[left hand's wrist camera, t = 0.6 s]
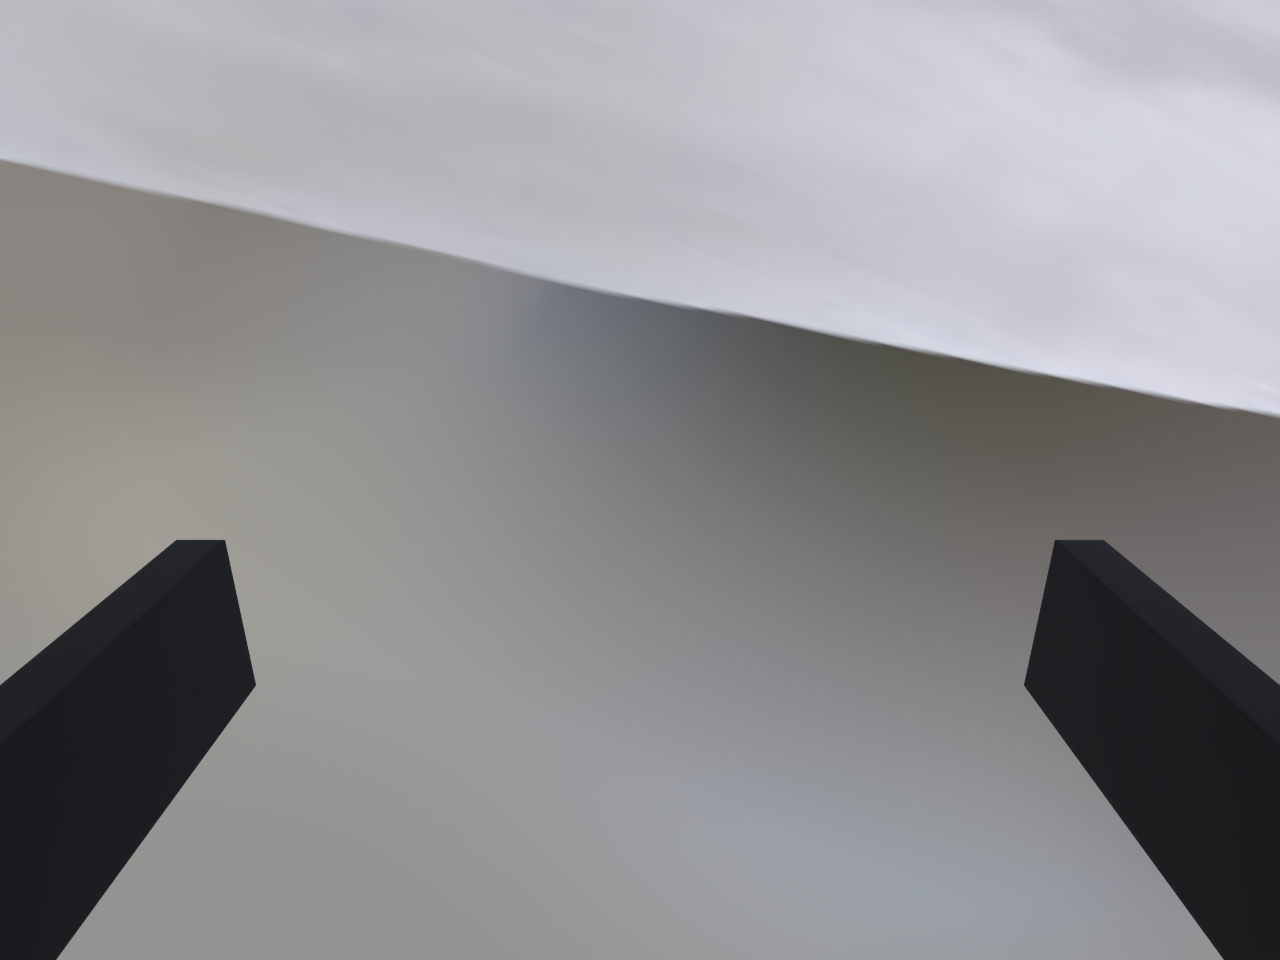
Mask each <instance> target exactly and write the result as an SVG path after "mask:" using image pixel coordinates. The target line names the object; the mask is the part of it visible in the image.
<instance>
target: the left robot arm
mask: <svg viewBox="0 0 1280 960" xmlns="http://www.w3.org/2000/svg"><path fill="white" fill-rule="evenodd" d="M255 686H256V683H255V679H254V674H253V669H252V665H251V660H250V655H249V650H248V646H247V641H246V636H245V632H244V627H243V622H242V618H241V613H240V608H239V604H238V599H237V594H236V590H235V585H234V580H233V576H232V571H231V566H230V561H229V557H228V552H227V547H226V543H225V540H176V541H175V542H173V543H172V544H171V545H170V546H169V547H167V548H166V549H165V550H164V551H163V552H161V553H160V554H159V555H158V556H157V557H155V558H154V559H153V560H152V561H150V562H149V563H148V564H147V565H146V566H144V567H143V568H142V569H141V570H139V571H138V572H137V573H136V574H135V575H133V576H132V577H131V578H130V579H129V580H127V581H126V582H125V583H124V584H122V585H121V586H120V587H119V588H118V589H116V590H115V591H114V592H113V593H112V594H110V595H109V596H108V597H107V598H106V599H104V600H103V601H102V602H101V603H99V604H98V605H97V606H96V607H95V608H93V609H92V610H91V611H90V612H89V613H87V614H86V615H85V616H84V617H82V618H81V619H80V620H79V621H78V622H76V623H75V624H74V625H73V626H72V627H70V628H69V629H68V630H67V631H66V632H64V633H63V634H62V635H61V636H59V637H58V638H57V639H56V640H55V641H53V642H52V643H51V644H50V645H48V646H47V647H46V648H45V649H44V650H42V651H41V652H40V653H39V654H38V655H36V656H35V657H34V658H33V659H31V660H30V661H29V662H28V663H27V664H25V665H24V666H23V667H22V668H21V669H19V670H18V671H17V672H16V673H15V674H13V675H12V676H11V677H10V678H8V679H7V680H6V681H5V682H4V683H2V684H1V685H0V960H56V959H57V958H58V956H59V955H60V954H61V952H62V951H63V950H64V948H65V947H66V945H67V944H68V943H69V941H70V940H71V939H72V937H73V936H74V934H75V933H76V932H77V930H78V929H79V927H80V926H81V925H82V923H83V922H84V921H85V919H86V918H87V917H88V915H89V914H90V912H91V911H92V910H93V908H94V907H95V905H96V904H97V903H98V901H99V900H100V899H101V897H102V896H103V895H104V893H105V892H106V890H107V889H108V888H109V886H110V885H111V884H112V882H113V881H114V879H115V878H116V877H117V875H118V874H119V872H120V871H121V870H122V868H123V867H124V866H125V864H126V863H127V862H128V860H129V859H130V857H131V856H132V855H133V853H134V852H135V851H136V849H137V848H138V847H139V845H140V844H141V842H142V841H143V840H144V838H145V837H146V836H147V834H148V833H149V831H150V830H151V829H152V827H153V826H154V824H155V823H156V822H157V820H158V819H159V818H160V816H161V815H162V814H163V812H164V811H165V809H166V808H167V807H168V805H169V804H170V803H171V801H172V800H173V798H174V797H175V796H176V794H177V793H178V792H179V790H180V789H181V787H182V786H183V785H184V783H185V782H186V781H187V779H188V778H189V777H190V775H191V774H192V772H193V771H194V770H195V768H196V767H197V766H198V764H199V763H200V761H201V760H202V759H203V757H204V756H205V754H206V753H207V752H208V750H209V749H210V748H211V746H212V745H213V744H214V742H215V741H216V739H217V738H218V737H219V735H220V734H221V733H222V731H223V730H224V728H225V727H226V726H227V724H228V723H229V722H230V720H231V719H232V717H233V716H234V715H235V713H236V712H237V711H238V709H239V708H240V706H241V705H242V704H243V702H244V701H245V700H246V698H247V697H248V695H249V694H250V693H251V691H252V690H253V689H254V687H255ZM1024 686H1025V687H1026V689H1027V690H1028V691H1029V693H1030V694H1031V696H1032V697H1033V698H1034V700H1035V701H1036V702H1037V704H1038V705H1039V706H1040V708H1041V709H1042V711H1043V712H1044V713H1045V715H1046V716H1047V717H1048V719H1049V720H1050V722H1051V723H1052V724H1053V726H1054V727H1055V728H1056V730H1057V731H1058V733H1059V734H1060V735H1061V737H1062V738H1063V739H1064V741H1065V742H1066V744H1067V745H1068V746H1069V747H1070V749H1071V750H1072V752H1073V753H1074V754H1075V756H1076V757H1077V759H1078V760H1079V761H1080V763H1081V764H1082V765H1083V767H1084V768H1085V770H1086V771H1087V772H1088V774H1089V775H1090V777H1091V778H1092V779H1093V781H1094V782H1095V783H1096V785H1097V786H1098V787H1099V789H1100V790H1101V792H1102V793H1103V794H1104V796H1105V797H1106V798H1107V800H1108V801H1109V803H1110V804H1111V805H1112V807H1113V808H1114V809H1115V811H1116V812H1117V813H1118V815H1119V816H1120V818H1121V819H1122V820H1123V822H1124V823H1125V825H1126V826H1127V827H1128V829H1129V830H1130V831H1131V833H1132V834H1133V836H1134V837H1135V838H1136V840H1137V841H1138V842H1139V844H1140V845H1141V847H1142V848H1143V849H1144V851H1145V852H1146V853H1147V855H1148V856H1149V858H1150V859H1151V860H1152V862H1153V863H1154V864H1155V866H1156V867H1157V869H1158V870H1159V871H1160V873H1161V874H1162V875H1163V877H1164V878H1165V879H1166V881H1167V882H1168V884H1169V885H1170V886H1171V888H1172V889H1173V890H1174V892H1175V893H1176V895H1177V896H1178V897H1179V899H1180V900H1181V901H1182V903H1183V904H1184V906H1185V907H1186V908H1187V910H1188V911H1189V912H1190V914H1191V915H1192V917H1193V918H1194V919H1195V921H1196V922H1197V923H1198V925H1199V926H1200V928H1201V929H1202V930H1203V932H1204V933H1205V934H1206V936H1207V937H1208V938H1209V940H1210V941H1211V943H1212V944H1213V945H1214V947H1215V948H1216V950H1217V951H1218V952H1219V954H1220V955H1221V956H1222V958H1223V959H1224V960H1280V685H1279V684H1278V683H1276V682H1275V681H1274V680H1273V679H1272V678H1270V677H1269V676H1268V675H1267V674H1265V673H1264V672H1263V671H1262V670H1261V669H1259V668H1258V667H1257V666H1256V665H1255V664H1253V663H1252V662H1251V661H1250V660H1249V659H1247V658H1246V657H1245V656H1244V655H1242V654H1241V653H1240V652H1239V651H1238V650H1236V649H1235V648H1234V647H1233V646H1232V645H1230V644H1229V643H1228V642H1227V641H1225V640H1224V639H1223V638H1222V637H1221V636H1219V635H1218V634H1217V633H1216V632H1215V631H1213V630H1212V629H1211V628H1210V627H1208V626H1207V625H1206V624H1205V623H1204V622H1202V621H1201V620H1200V619H1199V618H1197V617H1196V616H1195V615H1194V614H1193V613H1191V612H1190V611H1189V610H1188V609H1187V608H1185V607H1184V606H1183V605H1182V604H1181V603H1179V602H1178V601H1177V600H1176V599H1174V598H1173V597H1172V596H1171V595H1170V594H1168V593H1167V592H1166V591H1165V590H1164V589H1162V588H1161V587H1160V586H1159V585H1157V584H1156V583H1155V582H1154V581H1153V580H1151V579H1150V578H1149V577H1148V576H1147V575H1145V574H1144V573H1143V572H1142V571H1141V570H1139V569H1138V568H1137V567H1136V566H1134V565H1133V564H1132V563H1131V562H1130V561H1128V560H1127V559H1126V558H1125V557H1124V556H1122V555H1121V554H1120V553H1119V552H1117V551H1116V550H1115V549H1114V548H1113V547H1111V546H1110V545H1109V544H1108V543H1107V542H1105V541H1104V540H1055V543H1054V548H1053V552H1052V557H1051V562H1050V566H1049V571H1048V576H1047V580H1046V585H1045V590H1044V594H1043V599H1042V604H1041V608H1040V613H1039V618H1038V622H1037V627H1036V632H1035V637H1034V641H1033V646H1032V650H1031V655H1030V660H1029V664H1028V669H1027V674H1026V679H1025V683H1024Z"/></svg>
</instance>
